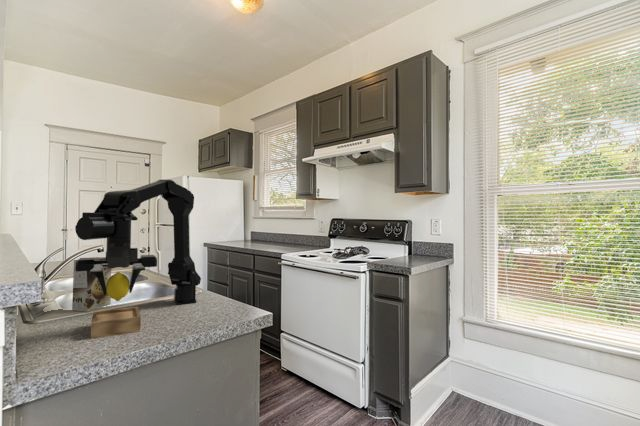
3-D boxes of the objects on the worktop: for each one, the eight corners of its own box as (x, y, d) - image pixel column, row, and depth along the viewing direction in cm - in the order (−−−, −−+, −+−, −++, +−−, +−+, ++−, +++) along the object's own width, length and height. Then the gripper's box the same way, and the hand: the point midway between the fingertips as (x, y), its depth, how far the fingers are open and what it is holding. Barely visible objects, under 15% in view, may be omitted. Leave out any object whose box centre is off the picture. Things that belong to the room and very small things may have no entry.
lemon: (117, 297, 95) (117, 269, 95) (134, 299, 94) (134, 270, 94) (100, 303, 90) (101, 273, 89) (118, 304, 88) (118, 274, 88)
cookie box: (88, 312, 105) (89, 261, 105) (71, 310, 106) (72, 259, 106) (111, 304, 114) (112, 257, 114) (95, 303, 115) (96, 256, 115)
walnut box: (137, 321, 99) (138, 306, 99) (140, 332, 90) (140, 317, 90) (93, 326, 93) (93, 311, 93) (90, 340, 84) (91, 323, 84)
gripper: (73, 240, 80) (72, 305, 80) (159, 238, 90) (158, 296, 90) (78, 237, 89) (77, 295, 90) (155, 235, 99) (154, 288, 99)
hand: (117, 293), depth 92 cm, fingers closed on lemon, 5 cm apart
